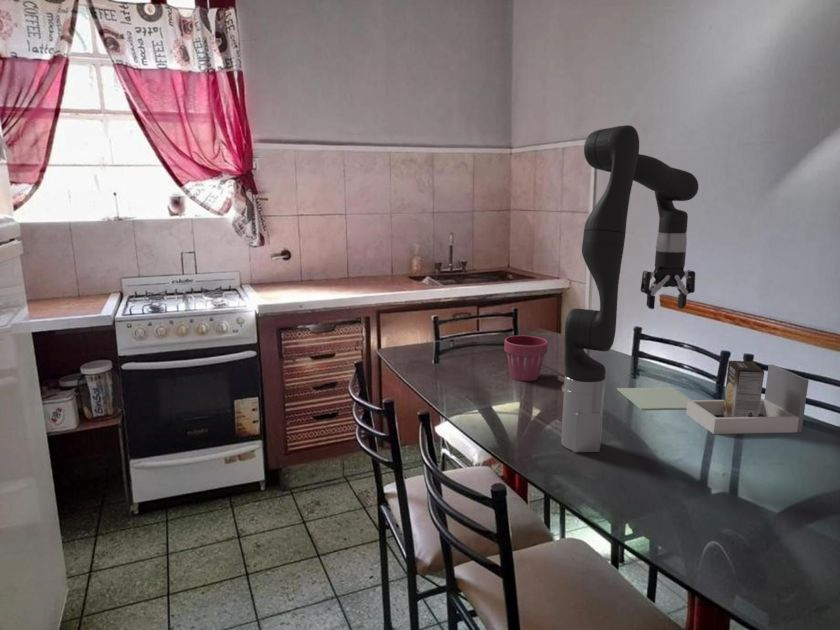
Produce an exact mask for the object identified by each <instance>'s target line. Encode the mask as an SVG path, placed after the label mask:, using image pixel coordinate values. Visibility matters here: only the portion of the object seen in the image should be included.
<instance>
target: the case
mask: <svg viewBox="0 0 840 630" xmlns="http://www.w3.org/2000/svg"><path fill="white" fill-rule="evenodd" d="M766 376H767V377H766V383H765V392H764V398H761V401H760V409H759V415H761V416H758V417H723V408H724V399H701V400H700V399H697V400H696V399H695V400H693V399H691V400H687V409H686V411H685V415H686V416H688V417H689V418H691V419H692V420H693V421H695V422H697V423H698V424H699V425H701V426H702V427H703V428H705V429H706V430H707V431H708V432H710V433H712V434H713V435H726V434H728V435H729V434H731V435H732V434H733V435H734V434H773V433H774V434H780V433H781V434H782V433H786V434H787V433H802V430H803V424H804V416H805V410H806V403H807V402H806V401H807V395H808V388H809V381H810V379H807V378H805V377H803V376H800V375H798V374H796V373H794V372H791V371H789V370H787V369H785V368H782V367H780V366H778V365H775V364H768V368H767V375H766ZM716 416H722V417H716Z"/></svg>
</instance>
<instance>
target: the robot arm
mask: <svg viewBox="0 0 840 630" xmlns="http://www.w3.org/2000/svg"><path fill="white" fill-rule="evenodd" d="M583 154H584V158H585V160H586V162H587V164H588V165H589V166H590V167H592V168H594V169H596V170H599V171H603V172H609V173H610V175H609V179H608V183H607V186H606V188H605V191H604V193H603V194H602V196H601V197H600V198H599V200H598V201H597V203H596V204H595V206H594V208H593V209H592V210H591V212H590V213H589V215H588V217H587V219H586V221H585V223H584V227H583V228H584V229H583V236H582V245H581V254H582V257H583V260H584V262H585V264H586V267H587V269H588V271H589V272H590V274H591V276H592V279H593V280H594V283H595V285H596V288H597V291H598V294H599V295H598V296H599V310H595V309H589V308H588V309H585V308H571V310H570V311H568V313H567V316H566V319H565V325H564V378H565V383H564V382H563V385H564V392H563V400H562V401H563V404H562V419H561V420H562V421H561V441H560V443H561V445H562V446H563V447H564V448H566V449H568V450H571V451H572V452H573V453H600V449H601V447H602V446H601V445H602V427H603V414H604V413H603V412H604V399H605V397H604V396H605V386H606V373H607V372H606V367H605V365H604V364H602V363H601V362H600V361H597V360H596V359H594V358H592V357H591V356H590V355H589V354H587V352H586V351H585V350H590V351H591V350H592V351H595V352H596V351H598V352H609V350H611V348H612V347H613V346H614V341H615V337H616V329H617V315H618V314H617V312H618V299H619V298H618V295H619V283H620V275H621V267H622V261H623V257H624V256H623V255H624V248H625V241H626V232H627V231H626V230H627V221H628V212H629V204H630V198H631V192H632V186H633V183H634V182H636V183H638V184H640V185H642V186H644V187H645V188H647V189H649V190H651V191H653V192H654V197H655V201H656V205H657V206H656V207H657V212H658V216H659V217H658V218H659V219H658V220H659V221H658V230H657V231H658V234H657V236H656V237H657V238H656V244H655V257H654V258H655V259H654V270H653V271H647V270H643V272H642V276H641V282H640V283H641V284H640V292H641V293H644V294H646V307H647V308H648V309H650V310H654V309H655V301H656V296H655V295H656V293H658V291H659V290H661V289H662V288H668V287H671V288H676V289H677V291H678V293H679V294H678V295H677V297H678V298H677V308H678V309H681V310H682V309H685V307H686V305H687V300H688V299H687V298H688V297H687V296H688V295H689V294H693V293H695V292H696V291H695V289H696V288H695V287H696V286H695V285H696V272H695V271H694V270H691V269H688V270H685V269H684V268H685V265H686V257H687V256H686V254H687V245H688V244H687V243H688V242H687V232H688V222H689V221H688V218H689V217H688V216H689V214H688V213H687V211H685V210H681V209H678V208H676V207H675V205H674V202H687V201H690V200H692V199H693V198H694V197H695V196H696V195H697V194H698V191H699V182H698V180H697V177H696V176H695V175H694V174H692V173H691V172H689V171H686V170H684V169H683V170H682V169H679V168H675V167H672V166H670V165H669V164H666V163H665V162H663V161H662V160H660V159H659V158H656V157H653V156H650V155H646V154H640V137H639V134H638V130H637V129H636V128H635V127H634V126H632V125H629V124H628V125H626V124H625V125H618V126H613V127H608V128H601V129H598V130H594V131H593V132H591V133H589V134H588V136H587V137H586V138H585V141H584V146H583ZM653 278H654V280H653V282H652V283H651V280H652V279H653ZM684 278H685V279H686V280H685V284H684V283H683V281H682V279H684ZM650 284H651V285H650Z"/></svg>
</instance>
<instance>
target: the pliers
mask: <svg viewBox="0 0 840 630" xmlns="http://www.w3.org/2000/svg"><path fill="white" fill-rule="evenodd" d="M557 380H558V381H559V382H561V383H563V384H562V385H561V390H562V392H563V393H564V383H565V376H561V375H557Z"/></svg>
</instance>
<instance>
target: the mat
mask: <svg viewBox="0 0 840 630" xmlns="http://www.w3.org/2000/svg"><path fill="white" fill-rule="evenodd" d="M616 390H617V391H618V392H620V393H621V394H622V395H623V396H624V397H626V399H628V400H629V401H630V402H631V403H633V404H634V405H635V406H636V407H637V408H639V409H640V410H643V411H645V410H646V411H647V410H648V411H650V410H687V400H692V399H691V398H690V397H688V396H687V395H685V394H684V393H683V392H681V391H679V390H678V389H677V388H675V387H671V386H670V387H668V386H667V387H617V388H616Z"/></svg>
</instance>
